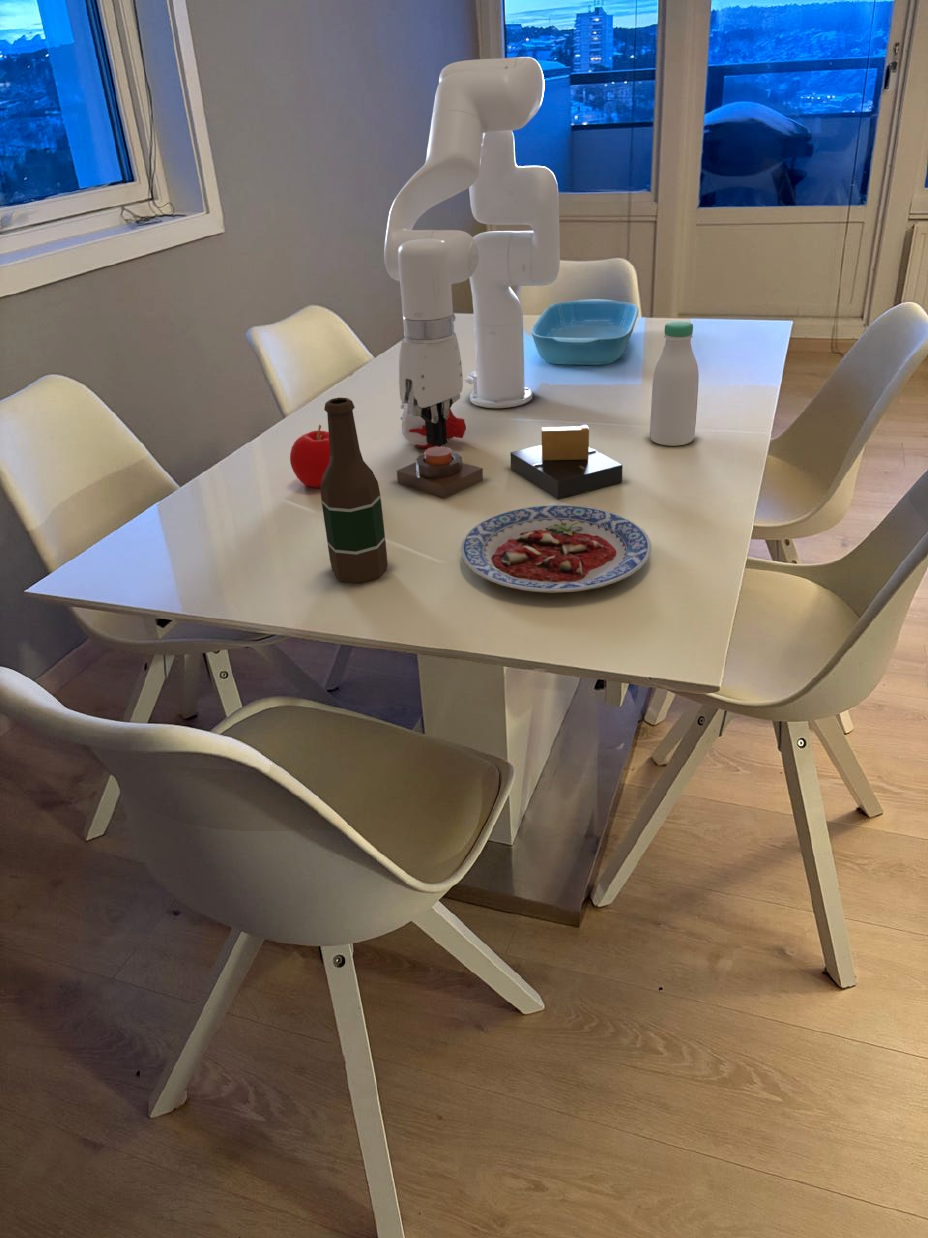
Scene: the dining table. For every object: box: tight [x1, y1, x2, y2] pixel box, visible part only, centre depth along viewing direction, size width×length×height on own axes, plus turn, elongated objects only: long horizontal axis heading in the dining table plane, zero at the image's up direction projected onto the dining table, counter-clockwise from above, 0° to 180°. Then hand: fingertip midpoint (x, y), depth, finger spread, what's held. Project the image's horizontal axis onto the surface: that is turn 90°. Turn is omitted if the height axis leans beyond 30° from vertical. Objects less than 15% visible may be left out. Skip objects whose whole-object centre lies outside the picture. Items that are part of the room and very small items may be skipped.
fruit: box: [289, 424, 330, 489], centre depth 155 cm, size 9×9×10 cm
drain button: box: [423, 445, 453, 465], centre depth 153 cm, size 4×4×2 cm
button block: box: [396, 451, 484, 499], centre depth 154 cm, size 11×9×4 cm
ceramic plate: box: [460, 504, 652, 594], centre depth 129 cm, size 26×26×3 cm
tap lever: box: [541, 424, 590, 461], centre depth 151 cm, size 8×2×5 cm, turn 86°
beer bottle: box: [319, 397, 388, 584], centre depth 123 cm, size 8×8×24 cm
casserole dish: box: [530, 298, 639, 366], centre depth 217 cm, size 37×22×7 cm, turn 166°
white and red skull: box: [400, 402, 467, 449], centre depth 168 cm, size 9×11×15 cm
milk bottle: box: [649, 320, 700, 447], centre depth 161 cm, size 8×8×20 cm
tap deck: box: [509, 444, 623, 500], centre depth 153 cm, size 15×12×3 cm
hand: (437, 443), depth 151 cm, fingers closed
